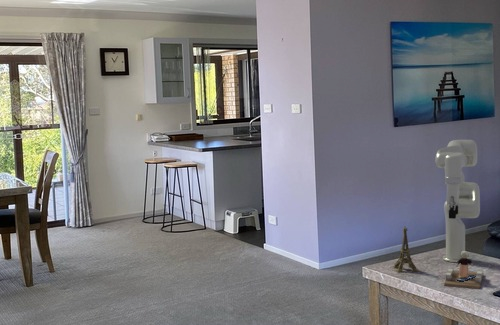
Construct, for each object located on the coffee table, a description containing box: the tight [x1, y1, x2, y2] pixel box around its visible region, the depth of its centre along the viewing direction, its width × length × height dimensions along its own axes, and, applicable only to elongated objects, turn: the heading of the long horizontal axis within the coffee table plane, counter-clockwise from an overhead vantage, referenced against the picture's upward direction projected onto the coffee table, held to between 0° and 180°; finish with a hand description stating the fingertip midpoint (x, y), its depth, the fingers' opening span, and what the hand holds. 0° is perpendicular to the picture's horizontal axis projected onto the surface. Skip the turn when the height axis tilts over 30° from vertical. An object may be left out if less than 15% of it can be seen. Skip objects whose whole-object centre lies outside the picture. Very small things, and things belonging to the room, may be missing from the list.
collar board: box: [443, 267, 484, 290], centre depth 295 cm, size 22×15×4 cm
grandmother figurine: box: [455, 250, 474, 278], centre depth 295 cm, size 8×4×13 cm, turn 93°
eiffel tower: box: [391, 227, 420, 273], centre depth 316 cm, size 11×11×25 cm
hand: (453, 216), depth 304 cm, fingers open, 9 cm apart
